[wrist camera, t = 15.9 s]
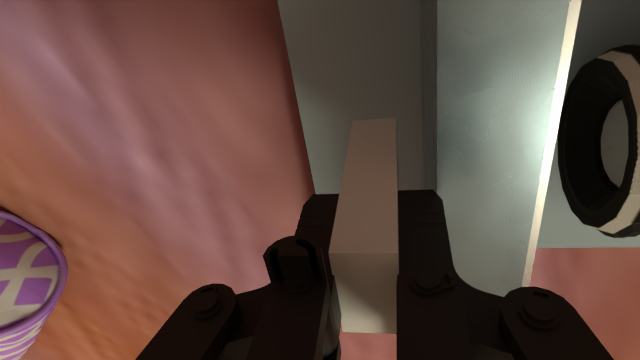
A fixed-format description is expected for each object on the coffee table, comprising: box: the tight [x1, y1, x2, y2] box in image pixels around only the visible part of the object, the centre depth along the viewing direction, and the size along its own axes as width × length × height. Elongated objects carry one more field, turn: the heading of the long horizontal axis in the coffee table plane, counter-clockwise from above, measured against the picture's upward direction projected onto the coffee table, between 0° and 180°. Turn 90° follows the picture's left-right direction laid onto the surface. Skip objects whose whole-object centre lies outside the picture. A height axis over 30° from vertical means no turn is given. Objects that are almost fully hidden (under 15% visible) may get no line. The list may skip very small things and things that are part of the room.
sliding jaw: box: [421, 0, 582, 297], centre depth 12 cm, size 22×3×7 cm, turn 9°
